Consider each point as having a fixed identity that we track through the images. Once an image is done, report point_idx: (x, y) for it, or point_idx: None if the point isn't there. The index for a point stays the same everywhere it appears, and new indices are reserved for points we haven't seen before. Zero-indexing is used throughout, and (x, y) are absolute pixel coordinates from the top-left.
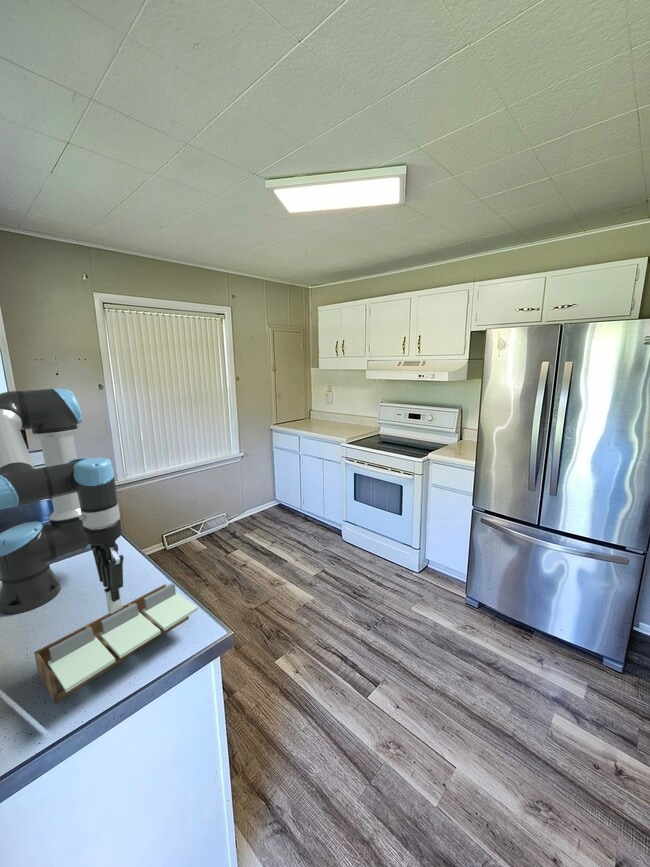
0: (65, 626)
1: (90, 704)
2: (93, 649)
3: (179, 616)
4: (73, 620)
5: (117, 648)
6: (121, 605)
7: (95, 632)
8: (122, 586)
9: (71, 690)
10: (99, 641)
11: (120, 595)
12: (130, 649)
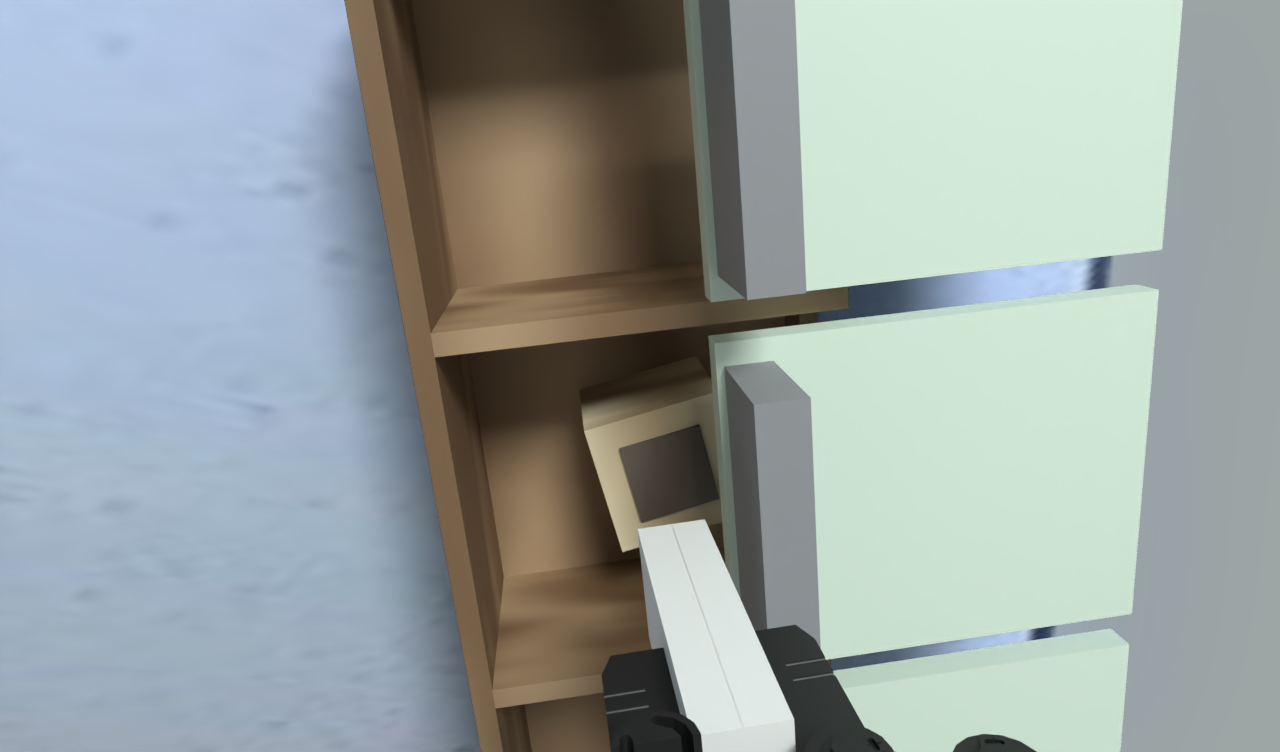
0: (56, 655)
1: (937, 644)
2: (900, 735)
3: (1147, 62)
4: (8, 603)
5: (1046, 610)
6: (710, 540)
7: (493, 597)
8: (1017, 748)
9: None
10: (846, 690)
11: (742, 608)
12: (1135, 540)
